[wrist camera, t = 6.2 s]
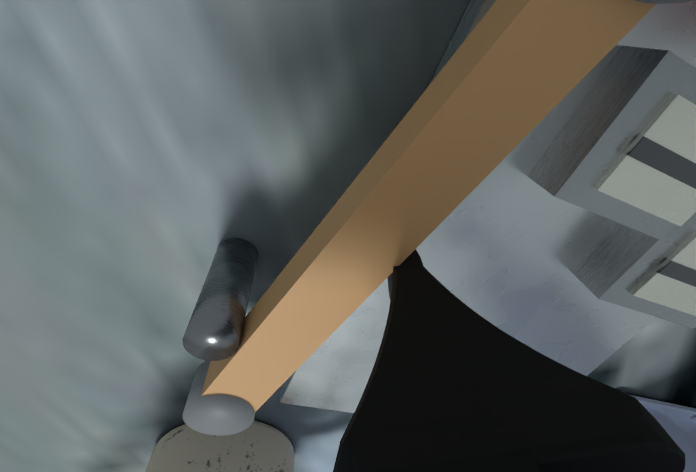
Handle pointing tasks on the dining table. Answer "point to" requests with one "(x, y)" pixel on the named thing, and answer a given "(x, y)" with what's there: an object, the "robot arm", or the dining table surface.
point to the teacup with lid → (223, 451)
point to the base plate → (537, 226)
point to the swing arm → (412, 188)
